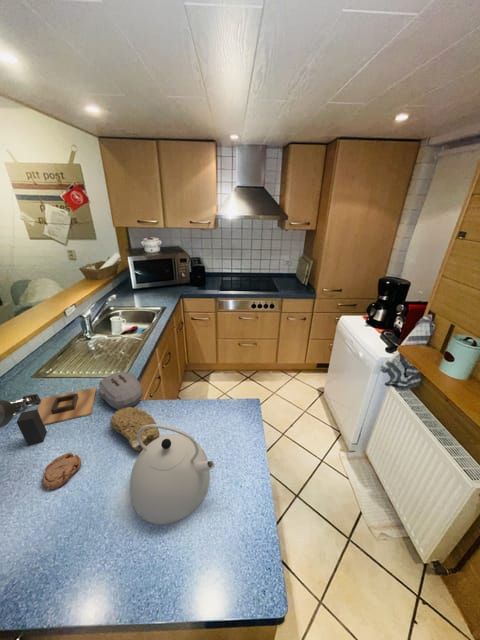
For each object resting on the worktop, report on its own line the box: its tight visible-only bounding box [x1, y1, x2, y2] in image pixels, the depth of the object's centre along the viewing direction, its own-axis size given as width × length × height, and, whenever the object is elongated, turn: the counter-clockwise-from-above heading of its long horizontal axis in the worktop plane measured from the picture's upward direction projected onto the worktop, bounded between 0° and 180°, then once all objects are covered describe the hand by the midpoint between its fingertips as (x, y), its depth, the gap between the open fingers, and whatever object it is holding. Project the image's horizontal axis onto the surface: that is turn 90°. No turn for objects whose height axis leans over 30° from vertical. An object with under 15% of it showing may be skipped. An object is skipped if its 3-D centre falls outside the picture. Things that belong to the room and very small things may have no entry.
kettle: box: [129, 423, 216, 525], centre depth 70 cm, size 25×23×22 cm
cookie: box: [42, 452, 82, 490], centre depth 76 cm, size 10×11×3 cm
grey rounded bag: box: [98, 370, 144, 411], centre depth 106 cm, size 15×8×20 cm
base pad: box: [36, 387, 97, 426], centre depth 101 cm, size 20×16×3 cm
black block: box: [16, 408, 48, 446], centre depth 85 cm, size 4×4×11 cm
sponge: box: [109, 406, 161, 451], centre depth 89 cm, size 13×8×20 cm
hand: (23, 409), depth 80 cm, fingers open, 8 cm apart
